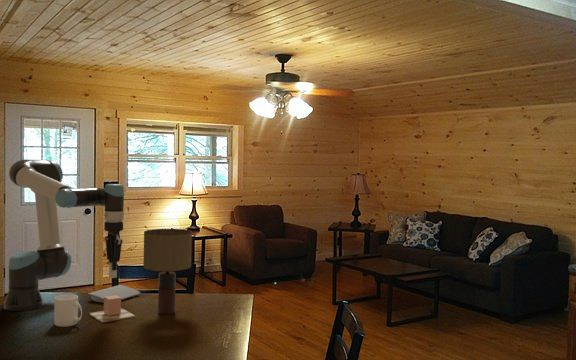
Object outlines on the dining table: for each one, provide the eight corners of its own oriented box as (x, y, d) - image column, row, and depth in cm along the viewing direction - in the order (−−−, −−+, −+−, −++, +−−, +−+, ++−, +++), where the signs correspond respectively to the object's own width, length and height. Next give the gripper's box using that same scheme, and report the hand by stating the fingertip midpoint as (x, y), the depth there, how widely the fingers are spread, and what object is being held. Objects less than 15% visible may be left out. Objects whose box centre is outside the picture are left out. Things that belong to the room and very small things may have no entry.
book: (82, 302, 247) (82, 293, 247) (118, 291, 268) (118, 284, 268) (107, 306, 240) (107, 298, 240) (142, 295, 261) (142, 287, 261)
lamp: (132, 314, 227) (134, 232, 226) (160, 303, 246) (162, 227, 245) (172, 321, 220) (174, 236, 219) (198, 309, 239) (200, 230, 237)
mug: (73, 329, 206) (74, 301, 206) (49, 325, 210) (49, 298, 210) (89, 323, 214) (89, 296, 214) (65, 319, 218) (66, 293, 218)
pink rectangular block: (103, 312, 226) (104, 296, 226) (115, 310, 229) (116, 295, 229) (108, 315, 222) (108, 299, 222) (120, 313, 225) (121, 297, 225)
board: (89, 314, 226) (89, 313, 226) (121, 309, 235) (121, 307, 235) (101, 322, 215) (101, 321, 215) (135, 317, 224) (135, 315, 224)
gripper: (99, 220, 227) (98, 275, 227) (111, 223, 217) (110, 281, 217) (116, 219, 231) (115, 273, 232) (129, 222, 221) (128, 279, 222)
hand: (112, 277), depth 225 cm, fingers closed
